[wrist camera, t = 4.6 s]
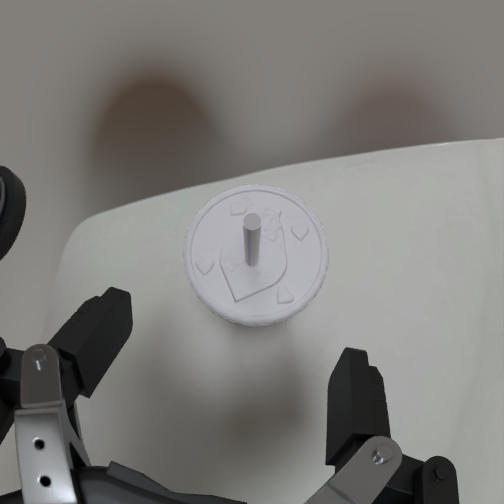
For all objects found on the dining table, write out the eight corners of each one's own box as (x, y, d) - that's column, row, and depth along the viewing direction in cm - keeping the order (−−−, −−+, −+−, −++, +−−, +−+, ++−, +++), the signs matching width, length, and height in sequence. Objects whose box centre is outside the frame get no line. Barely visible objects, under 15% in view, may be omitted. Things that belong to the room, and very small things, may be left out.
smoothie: (195, 314, 22) (118, 263, 9) (229, 234, 24) (207, 103, 11) (280, 348, 22) (327, 347, 8) (311, 264, 23) (380, 159, 10)
